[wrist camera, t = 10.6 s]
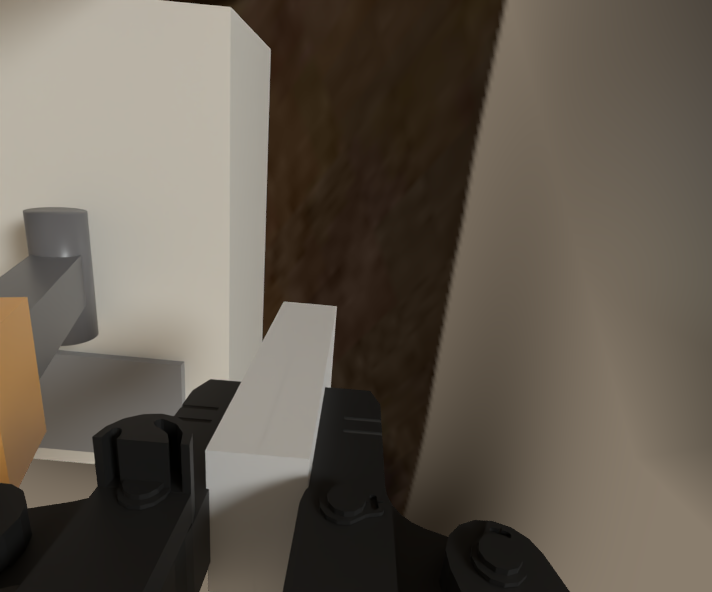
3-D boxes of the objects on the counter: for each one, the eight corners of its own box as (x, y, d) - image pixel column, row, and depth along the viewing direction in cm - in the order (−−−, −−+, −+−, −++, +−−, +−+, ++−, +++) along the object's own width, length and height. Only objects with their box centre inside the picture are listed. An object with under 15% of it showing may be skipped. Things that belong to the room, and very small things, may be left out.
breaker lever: (26, 205, 17) (-208, 307, 7) (98, 208, 18) (-23, 303, 8) (42, 327, 19) (-131, 549, 9) (107, 325, 19) (17, 526, 10)
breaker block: (29, 25, 22) (-125, -32, 15) (270, 49, 22) (227, 3, 15) (71, 382, 29) (-25, 459, 22) (260, 400, 29) (226, 481, 22)
